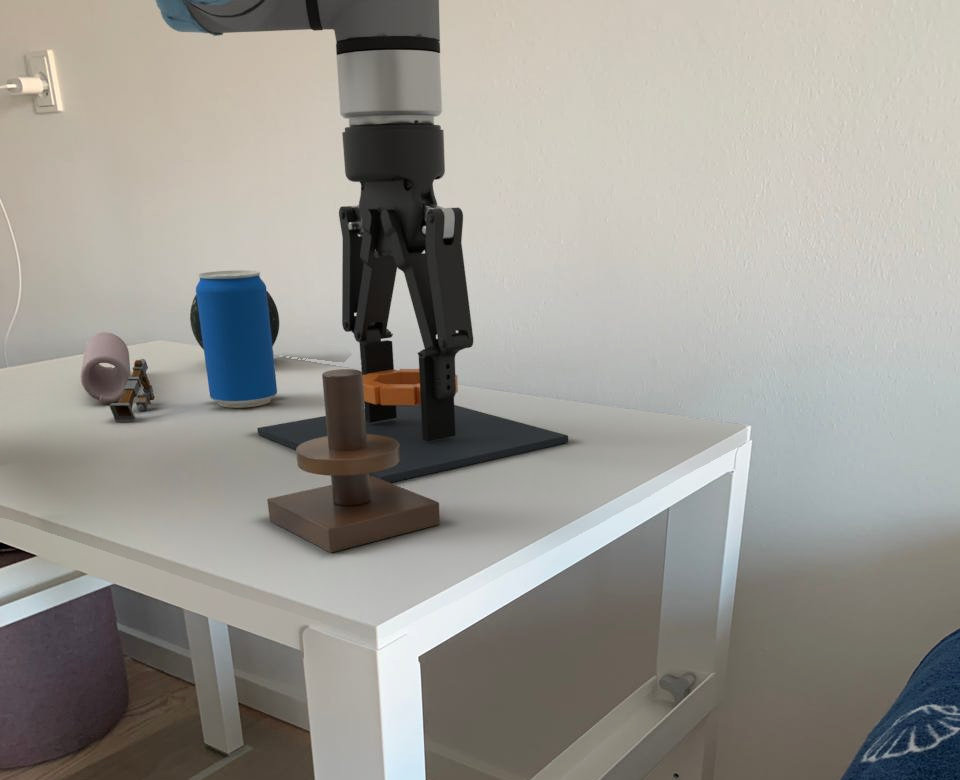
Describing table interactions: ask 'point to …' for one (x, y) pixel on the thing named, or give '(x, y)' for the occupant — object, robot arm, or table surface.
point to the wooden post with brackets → (134, 393)
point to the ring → (394, 387)
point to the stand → (350, 479)
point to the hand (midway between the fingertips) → (409, 428)
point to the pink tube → (100, 379)
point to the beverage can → (236, 338)
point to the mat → (418, 457)
